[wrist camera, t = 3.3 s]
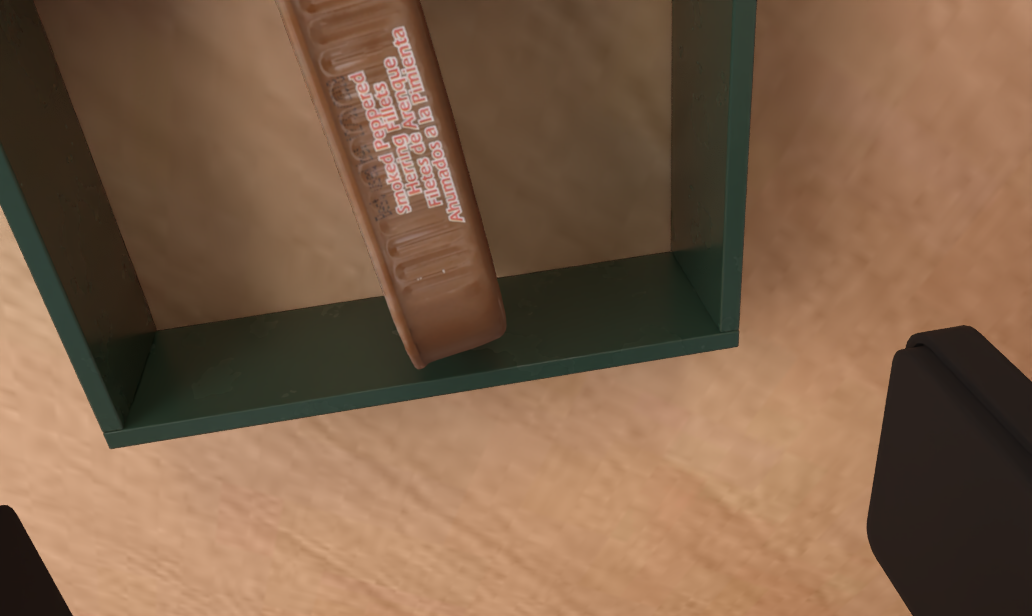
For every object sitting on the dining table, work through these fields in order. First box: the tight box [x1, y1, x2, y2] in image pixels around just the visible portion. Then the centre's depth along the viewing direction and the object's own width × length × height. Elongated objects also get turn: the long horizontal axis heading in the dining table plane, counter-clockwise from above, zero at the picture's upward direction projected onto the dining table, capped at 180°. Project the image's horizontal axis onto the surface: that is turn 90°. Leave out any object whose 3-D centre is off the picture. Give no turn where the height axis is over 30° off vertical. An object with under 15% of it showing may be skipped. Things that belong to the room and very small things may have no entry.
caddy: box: [0, 0, 757, 449], centre depth 23 cm, size 18×18×5 cm
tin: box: [275, 0, 506, 369], centre depth 22 cm, size 15×3×8 cm, turn 13°
